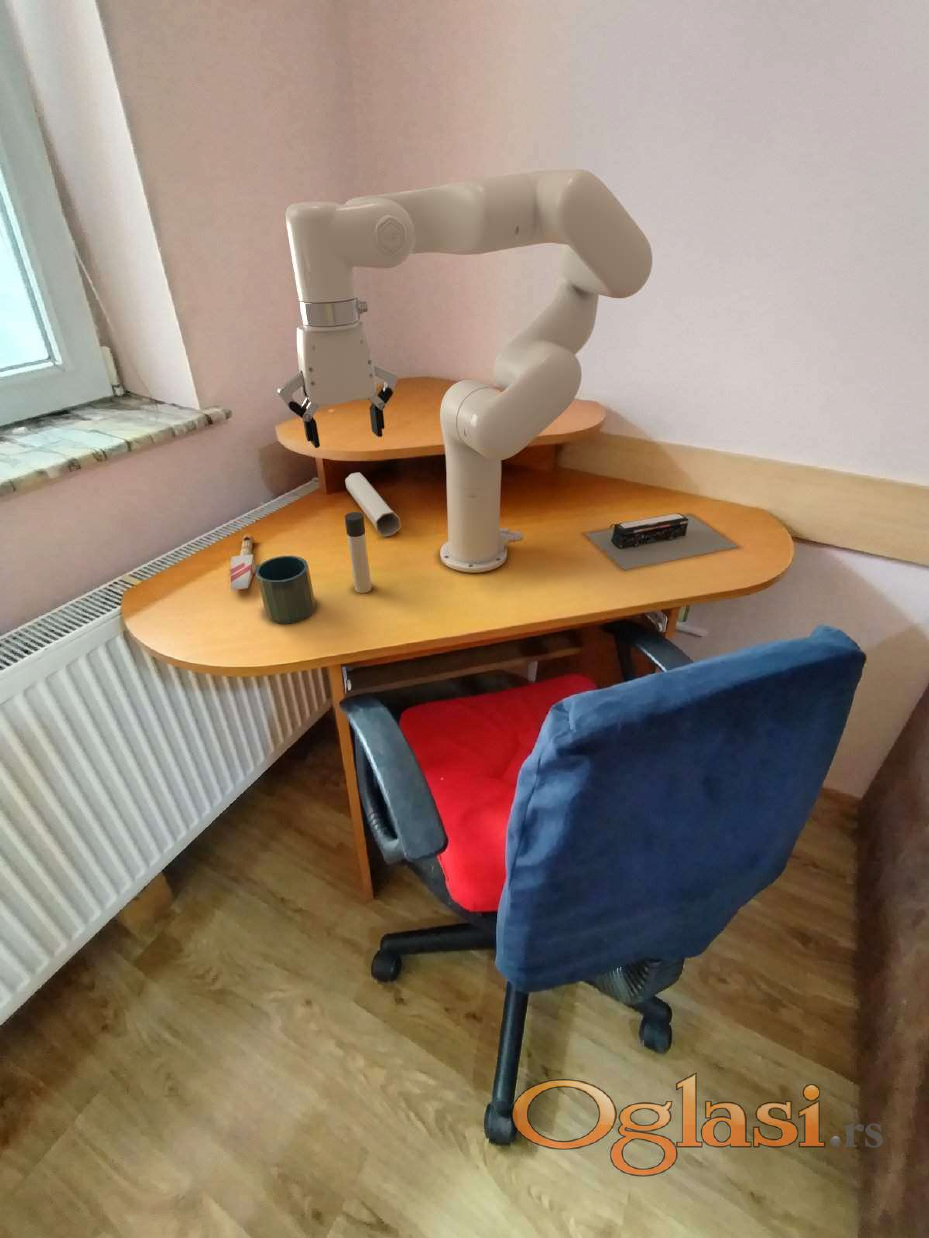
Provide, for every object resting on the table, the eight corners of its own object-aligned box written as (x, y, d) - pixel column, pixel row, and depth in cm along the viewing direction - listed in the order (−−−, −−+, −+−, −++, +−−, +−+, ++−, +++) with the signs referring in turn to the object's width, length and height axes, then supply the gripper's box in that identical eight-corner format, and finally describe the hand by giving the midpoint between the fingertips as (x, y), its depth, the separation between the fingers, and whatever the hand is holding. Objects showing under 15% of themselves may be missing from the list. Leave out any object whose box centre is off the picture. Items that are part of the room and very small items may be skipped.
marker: (369, 582, 106) (360, 510, 97) (374, 591, 103) (365, 518, 95) (352, 586, 105) (342, 514, 96) (357, 595, 102) (347, 521, 94)
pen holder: (309, 591, 103) (301, 551, 99) (320, 616, 98) (312, 574, 93) (262, 602, 101) (252, 562, 96) (270, 628, 95) (260, 586, 90)
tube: (338, 475, 135) (371, 520, 116) (358, 464, 135) (395, 507, 117) (348, 495, 138) (381, 541, 120) (368, 484, 139) (405, 528, 120)
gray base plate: (586, 534, 120) (588, 515, 117) (691, 515, 126) (695, 496, 124) (624, 569, 108) (627, 549, 106) (737, 547, 115) (743, 527, 112)
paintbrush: (224, 583, 100) (237, 533, 116) (228, 596, 102) (240, 545, 118) (248, 580, 101) (257, 530, 117) (252, 594, 102) (260, 543, 118)
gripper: (382, 304, 85) (392, 423, 96) (259, 316, 80) (284, 441, 90) (400, 312, 80) (409, 438, 90) (269, 325, 74) (295, 458, 84)
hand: (346, 439), depth 90 cm, fingers open, 9 cm apart
